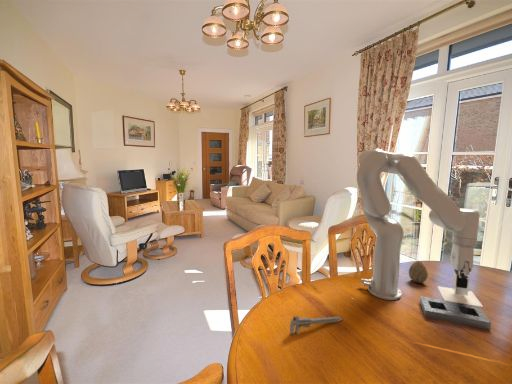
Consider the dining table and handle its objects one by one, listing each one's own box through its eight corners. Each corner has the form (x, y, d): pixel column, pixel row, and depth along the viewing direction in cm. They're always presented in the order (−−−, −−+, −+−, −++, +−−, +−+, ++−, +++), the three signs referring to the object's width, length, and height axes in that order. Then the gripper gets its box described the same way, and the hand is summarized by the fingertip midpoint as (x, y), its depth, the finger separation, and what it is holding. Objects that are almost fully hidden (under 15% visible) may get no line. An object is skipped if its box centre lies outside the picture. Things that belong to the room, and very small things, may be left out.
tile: (444, 301, 101) (444, 300, 101) (436, 287, 112) (437, 286, 112) (483, 308, 97) (483, 306, 97) (471, 292, 108) (471, 291, 107)
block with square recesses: (424, 318, 91) (425, 310, 91) (419, 303, 100) (420, 296, 100) (489, 331, 84) (491, 322, 84) (478, 314, 93) (479, 306, 93)
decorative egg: (430, 286, 113) (432, 264, 112) (414, 286, 113) (415, 264, 112) (420, 278, 120) (421, 257, 119) (404, 278, 120) (406, 258, 119)
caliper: (291, 336, 83) (291, 318, 82) (289, 334, 84) (290, 316, 83) (342, 321, 91) (343, 304, 90) (340, 319, 92) (341, 302, 91)
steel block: (455, 294, 103) (456, 274, 102) (452, 289, 107) (453, 270, 106) (467, 295, 101) (469, 276, 100) (464, 290, 105) (465, 272, 104)
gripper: (446, 233, 110) (443, 274, 113) (459, 246, 95) (454, 293, 98) (468, 235, 107) (464, 277, 110) (485, 248, 92) (479, 297, 95)
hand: (459, 284), depth 104 cm, fingers closed on steel block, 4 cm apart
